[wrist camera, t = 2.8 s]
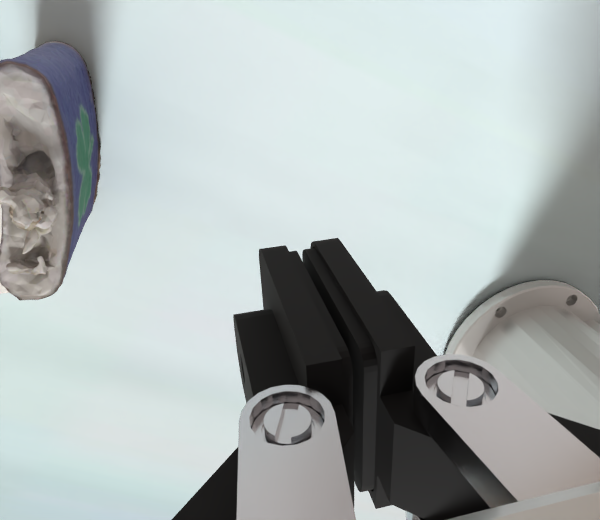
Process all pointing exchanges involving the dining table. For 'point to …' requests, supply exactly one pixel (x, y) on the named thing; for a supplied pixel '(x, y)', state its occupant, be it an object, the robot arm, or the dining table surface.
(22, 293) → the blue green-marked block
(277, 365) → the robot arm
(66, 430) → the dining table surface
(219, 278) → the dining table surface
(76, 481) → the dining table surface
